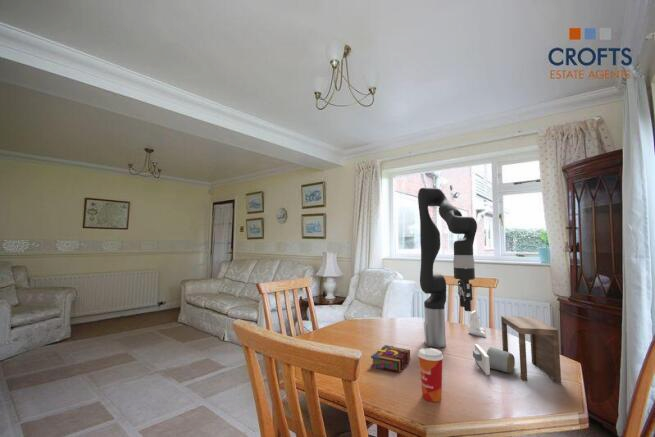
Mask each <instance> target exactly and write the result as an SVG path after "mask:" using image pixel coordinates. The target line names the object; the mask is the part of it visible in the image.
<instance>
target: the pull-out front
mask: <svg viewBox="0 0 655 437" xmlns="http://www.w3.org/2000/svg"><path fill="white" fill-rule="evenodd" d="M472 357H473V358H474V360H475V362H476V364H478V365H479V367H480V369H481V370H482V371H483V373H485V375H486V376H490V375H491V372H490V371H491V370H490V369H491V368H490V365H489V356H488V355H487V352H486V351H485V350H484V349H483V348H482V347H481V345H479V344H478V343H474V350H472Z"/></svg>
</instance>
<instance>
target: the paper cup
mask: <svg viewBox="0 0 655 437" xmlns="http://www.w3.org/2000/svg"><path fill="white" fill-rule="evenodd" d="M417 356H418V360H419V370H420V372H419V373H420V375H419V376H420V384H421V395H422V398H423V399H424V400H425V401H427V402H429V401H431V402H430V403H439V402H440V400H441V401H442V390H443V388H442V387H443V360H444V355H443V352H442V351H441V350H439V349H437V348H433V347H430V348H429V347H426V348H424V347H421V348H420V349H419V350H418V353H417Z"/></svg>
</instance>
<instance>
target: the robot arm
mask: <svg viewBox="0 0 655 437" xmlns="http://www.w3.org/2000/svg"><path fill="white" fill-rule="evenodd" d="M417 204H418V211H419V212H418V213H419V225H420V226H419V228H420V233H419V234H420V236H419V237H420V238H419V239H420V240H419V241H420V272H419V285H420V289H421V291H422V292H423V293H424V294H426V295H427V294H429V295H430V296H429V297H428V298H427V299H425V300H424V302H423V306H424V308H423V309H424V311H423V312H424V322H423V325H424V326H423V331H424V343H425V346H428V347H431V348H433V347H434V348H444V347H446V345H447V340H446V337H447V336H446V335H447V334H446V314H445V313H446V312H445V311H446V309H445V308H446V307H445V305H446V302H447V282H446V279H445V277H444V275H443V274H442V273H437V272H436V273H434V262H435V261H436V259H437V256H438V254H439V252H440V249H441V232H440V230H439V229H438V227H437V225H436V224H435V222H434V220H433V219H432V217H431V215H430V211H429V207H438V214H439V216H440V218H442V219H443V221H444V222H446V225H447V228H448V230H449V232H450V233H452V234H454V235H455V234H456V235H463V237H462V238H461V239H459V240H458V239H457V240H455V241H454V242H453V278H454V279H455V280H457V287H458V288H457V290H458V291H457V294H458V296H459V306H460V307H461V308H463V309H464V311H465V312H472V302H471V301H472V300H473V298H474V297H473V287H472V286H473V285H472V283H470V280H471V281H472V280H475V279H476V272H475V260H474V242H475V237H476V234H477V230H478V223H477V220H476V218H474V217H473V216H463V215H462V212H461V211H460V210H459V209H458V208H456V207H455V206H454V205H453V204H452V203H451V202H450V201H449V199H448V197H447V196H446V194H445V193H444V191H442V189H441V188H438V187H420V188H419V189H418V194H417Z"/></svg>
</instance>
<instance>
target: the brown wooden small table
mask: <svg viewBox="0 0 655 437" xmlns="http://www.w3.org/2000/svg"><path fill="white" fill-rule="evenodd" d="M500 318H501V319H500V322H501V337H502V338H501V341H502V342H501V344H502V350H503V351H506V352H509V342H508V340H509V339H508V327H510V328H511V329H513V330H514V331H515V332H517V333H518V344H519V345H518V347H519V348H518V349H519V364H520V365H519V368H520V369H519V370H520V379H521V380H522V381H523V382H524V381H525V382H528V368H527V367H528V365H527V363H528V362H527V348H526V346H527V344H526V335H530V338H529V339H530V351H531V352H530V353H531V357H530V358H531V363H532V364H533V365H536V366H537V365H538V366H537V367H539V368H540V369H541V370H542V369H543V370H542V371H544V372H545V373H546V374H547V375H548V376H550V377H551V378H552V379H553V381H554V382H555V384H562V373H561V356H560V342H559V341H560V340H559V329H557V328H555V327H554V326H551V325H549V324H548V323H545V322H543V321H542V320H540V319H538V318H536V317H534V316H533V317H532V316H517V315H516V316H515V315H514V316H513V315H510V316H509V315H501V316H500Z"/></svg>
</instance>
